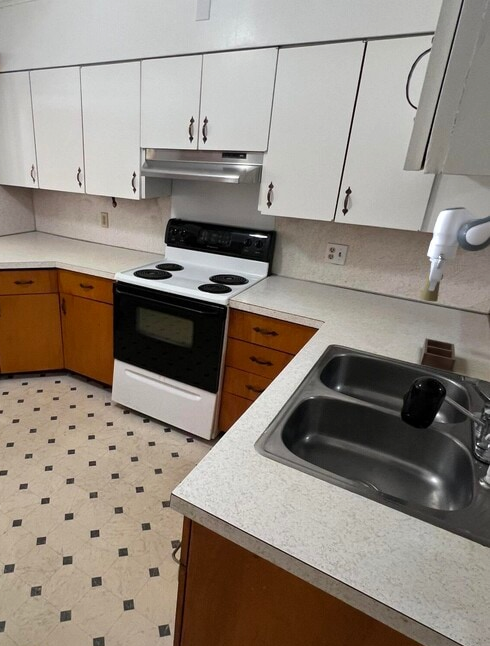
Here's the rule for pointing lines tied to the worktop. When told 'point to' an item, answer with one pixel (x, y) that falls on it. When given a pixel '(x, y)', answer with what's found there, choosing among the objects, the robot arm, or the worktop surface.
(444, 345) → the rack
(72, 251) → the worktop surface
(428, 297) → the cork
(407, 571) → the worktop surface
